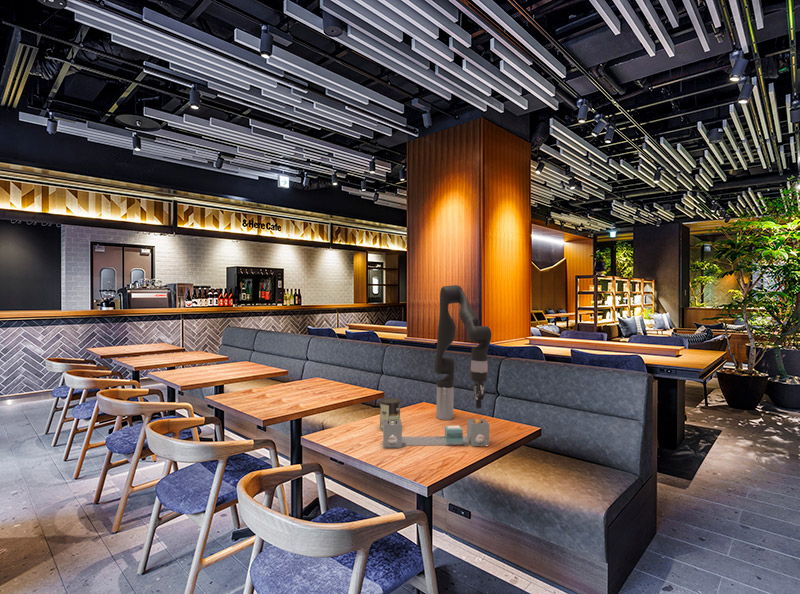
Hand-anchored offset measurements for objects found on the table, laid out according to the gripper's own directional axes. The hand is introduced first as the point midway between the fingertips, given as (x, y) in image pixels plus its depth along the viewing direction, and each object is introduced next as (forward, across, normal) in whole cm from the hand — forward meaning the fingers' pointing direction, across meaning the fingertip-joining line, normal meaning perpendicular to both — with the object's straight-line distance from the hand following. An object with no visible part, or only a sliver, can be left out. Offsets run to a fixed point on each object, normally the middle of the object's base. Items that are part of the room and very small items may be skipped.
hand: (478, 407), depth 189 cm
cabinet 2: (+16, 0, 0) cm, 16 cm away
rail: (+16, 0, -20) cm, 26 cm away
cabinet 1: (+16, 0, -39) cm, 42 cm away
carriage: (+15, 0, -11) cm, 19 cm away
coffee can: (+17, -23, -39) cm, 48 cm away
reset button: (+10, 0, 0) cm, 10 cm away
